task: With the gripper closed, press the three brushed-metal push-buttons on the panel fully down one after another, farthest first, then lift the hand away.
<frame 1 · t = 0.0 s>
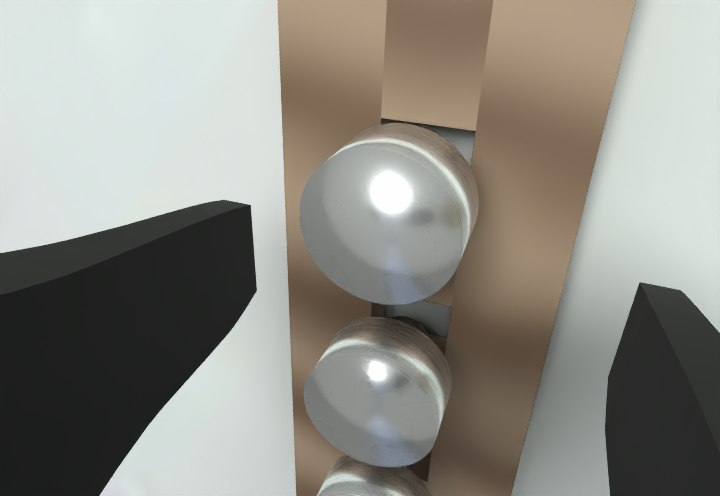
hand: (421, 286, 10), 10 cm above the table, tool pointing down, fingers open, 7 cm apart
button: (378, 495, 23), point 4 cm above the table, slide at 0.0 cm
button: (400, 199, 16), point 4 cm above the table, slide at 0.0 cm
button middle: (388, 372, 19), point 4 cm above the table, slide at 0.0 cm
button panel: (421, 301, 23), on the table
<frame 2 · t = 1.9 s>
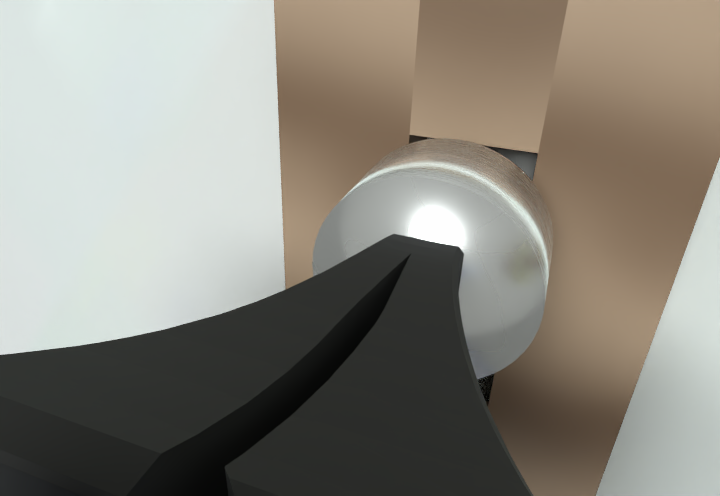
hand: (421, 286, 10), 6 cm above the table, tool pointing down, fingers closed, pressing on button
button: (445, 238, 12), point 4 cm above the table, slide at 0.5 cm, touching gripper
button panel: (451, 356, 19), on the table
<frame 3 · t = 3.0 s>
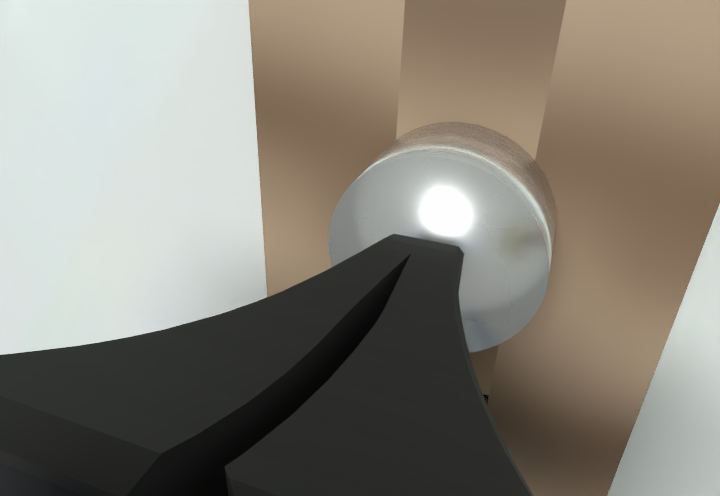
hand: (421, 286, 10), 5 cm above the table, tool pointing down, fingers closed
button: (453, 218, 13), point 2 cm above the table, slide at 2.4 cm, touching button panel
button panel: (444, 374, 18), on the table
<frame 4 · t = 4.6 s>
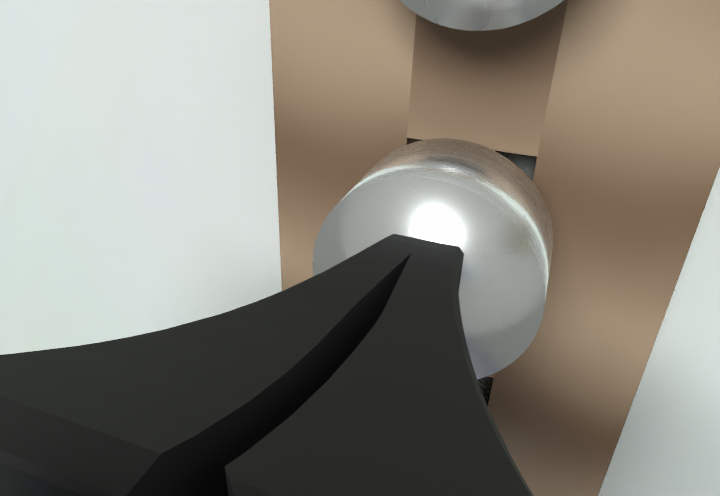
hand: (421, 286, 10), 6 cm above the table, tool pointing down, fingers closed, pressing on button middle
button middle: (445, 238, 12), point 4 cm above the table, slide at 0.7 cm, touching gripper
button panel: (476, 176, 15), on the table
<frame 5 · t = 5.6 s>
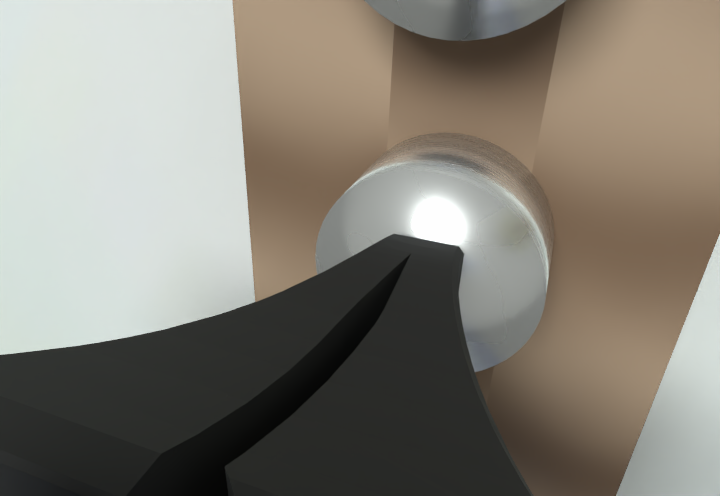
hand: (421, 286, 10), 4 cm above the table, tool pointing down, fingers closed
button middle: (447, 232, 12), point 2 cm above the table, slide at 2.4 cm, touching button panel
button panel: (465, 195, 14), on the table
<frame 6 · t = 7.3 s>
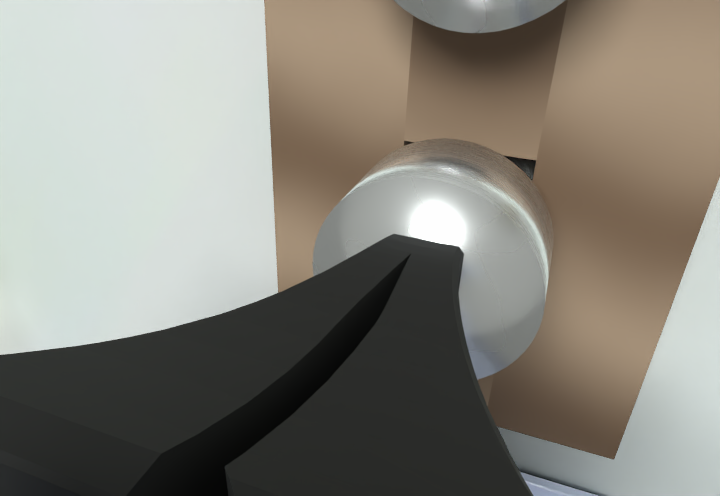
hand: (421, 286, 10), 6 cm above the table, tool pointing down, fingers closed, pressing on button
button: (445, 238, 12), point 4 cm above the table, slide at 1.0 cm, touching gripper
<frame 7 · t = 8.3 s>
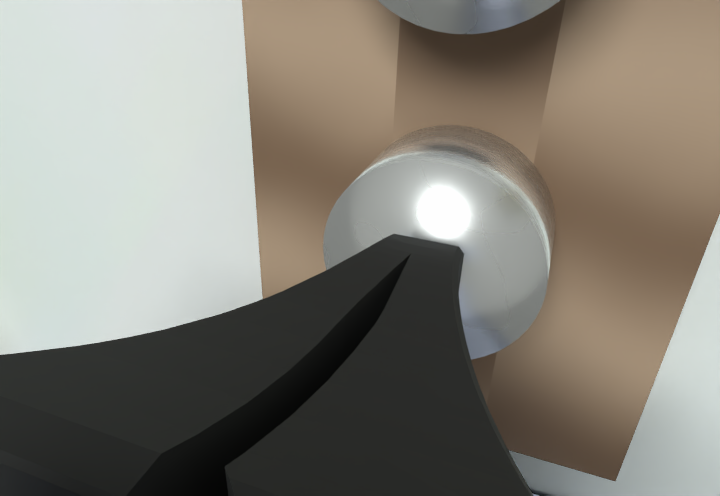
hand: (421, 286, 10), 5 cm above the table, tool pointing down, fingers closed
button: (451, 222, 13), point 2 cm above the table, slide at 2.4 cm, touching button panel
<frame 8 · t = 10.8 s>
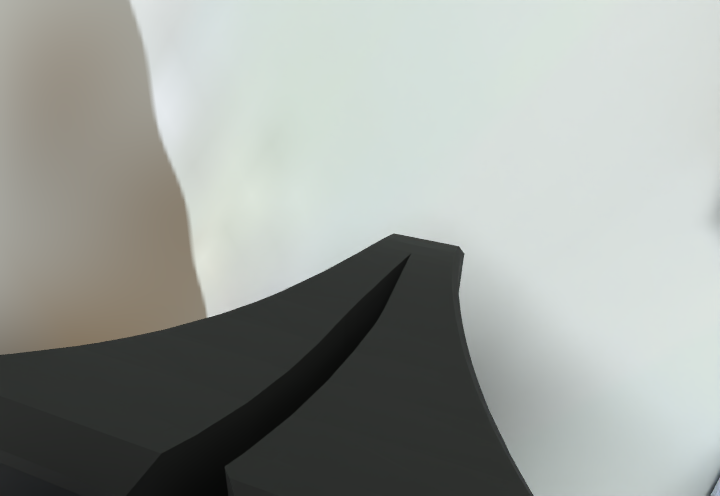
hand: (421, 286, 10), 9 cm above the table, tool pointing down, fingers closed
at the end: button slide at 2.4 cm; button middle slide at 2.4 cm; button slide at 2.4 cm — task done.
